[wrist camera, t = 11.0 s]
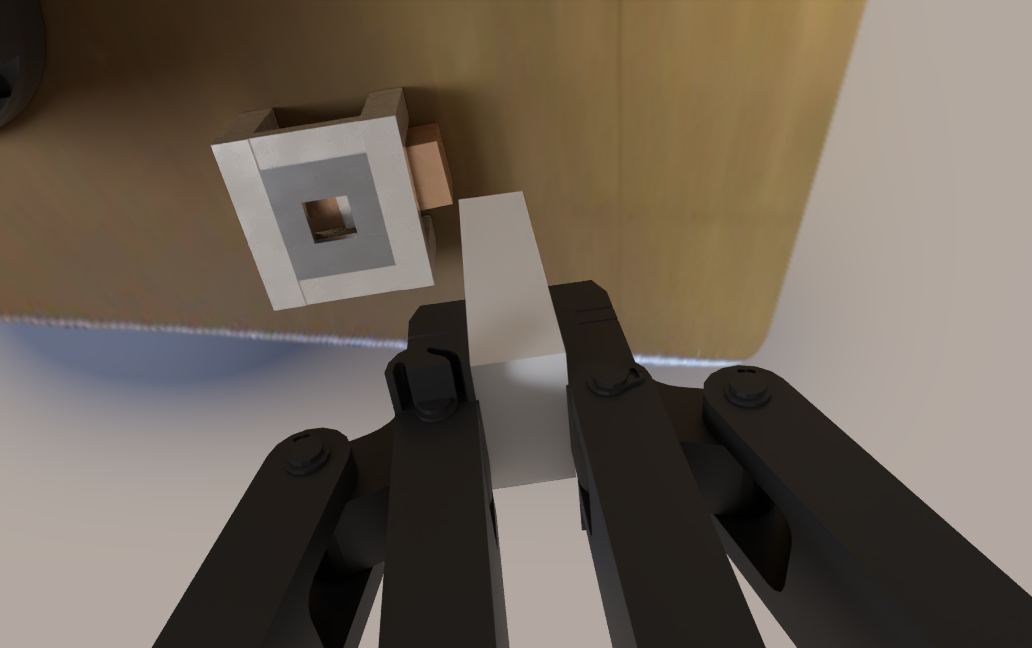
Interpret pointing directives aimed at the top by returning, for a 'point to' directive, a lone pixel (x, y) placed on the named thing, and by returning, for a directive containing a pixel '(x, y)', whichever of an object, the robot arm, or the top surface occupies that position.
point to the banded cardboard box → (426, 174)
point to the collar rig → (321, 175)
